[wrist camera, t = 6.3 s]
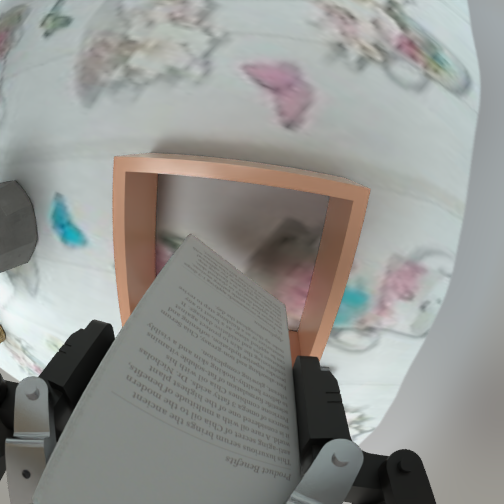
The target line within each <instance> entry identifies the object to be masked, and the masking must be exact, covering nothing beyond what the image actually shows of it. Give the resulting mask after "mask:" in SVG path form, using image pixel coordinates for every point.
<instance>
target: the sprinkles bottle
mask: <svg viewBox="0 0 504 504" xmlns="http://www.w3.org/2000/svg"><path fill="white" fill-rule="evenodd" d="M4 340H5V334H4V331H3V329H2V328H1V326H0V343H1V342H3V341H4Z"/></svg>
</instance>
